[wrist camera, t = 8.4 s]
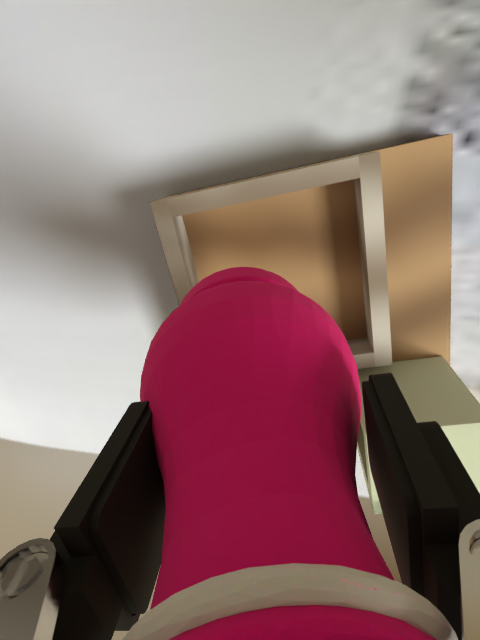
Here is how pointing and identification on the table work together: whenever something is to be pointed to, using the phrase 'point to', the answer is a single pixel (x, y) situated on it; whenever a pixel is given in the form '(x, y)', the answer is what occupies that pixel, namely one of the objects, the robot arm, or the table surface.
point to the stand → (335, 242)
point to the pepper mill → (264, 476)
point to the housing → (430, 411)
